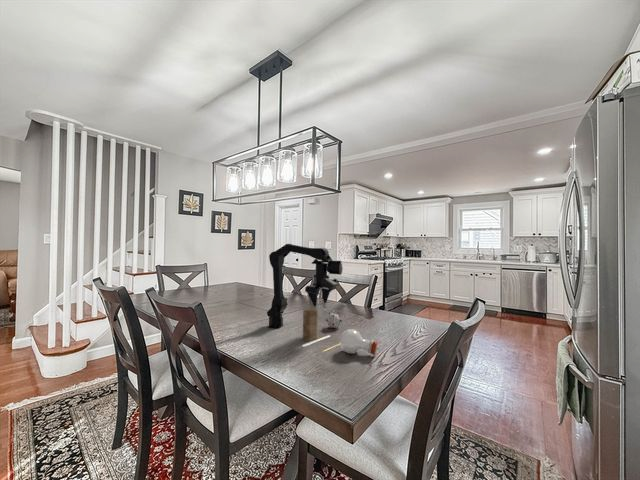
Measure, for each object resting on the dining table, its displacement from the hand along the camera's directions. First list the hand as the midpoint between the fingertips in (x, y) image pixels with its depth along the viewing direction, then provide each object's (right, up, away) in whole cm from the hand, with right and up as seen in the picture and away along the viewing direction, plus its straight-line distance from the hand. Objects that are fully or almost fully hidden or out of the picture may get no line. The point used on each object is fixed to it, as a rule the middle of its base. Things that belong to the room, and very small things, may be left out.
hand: (320, 304), depth 135 cm
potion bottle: (+15, -14, -25) cm, 33 cm away
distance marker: (+6, -14, -19) cm, 24 cm away
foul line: (-1, -14, -12) cm, 18 cm away
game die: (+7, -14, +6) cm, 17 cm away
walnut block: (-5, -14, -9) cm, 17 cm away
